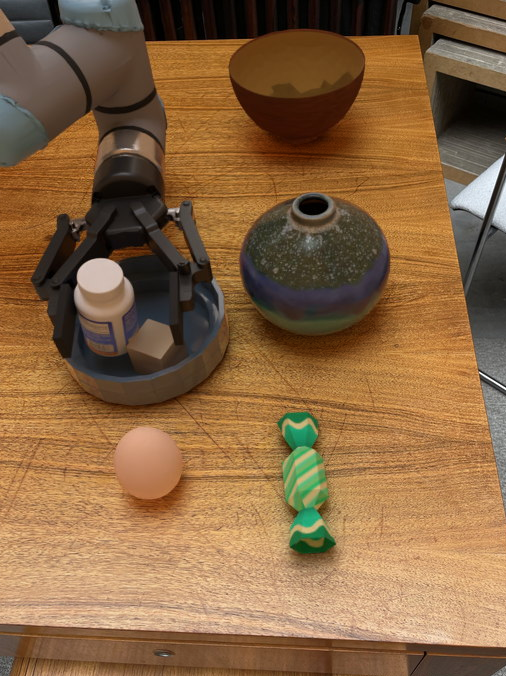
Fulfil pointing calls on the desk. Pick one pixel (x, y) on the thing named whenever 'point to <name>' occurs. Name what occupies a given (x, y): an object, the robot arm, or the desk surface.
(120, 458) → the egg
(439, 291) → the desk surface
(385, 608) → the desk surface
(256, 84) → the bowl
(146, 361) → the block
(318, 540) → the candy
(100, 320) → the pill bottle
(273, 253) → the vase
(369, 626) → the desk surface
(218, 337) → the bowl
